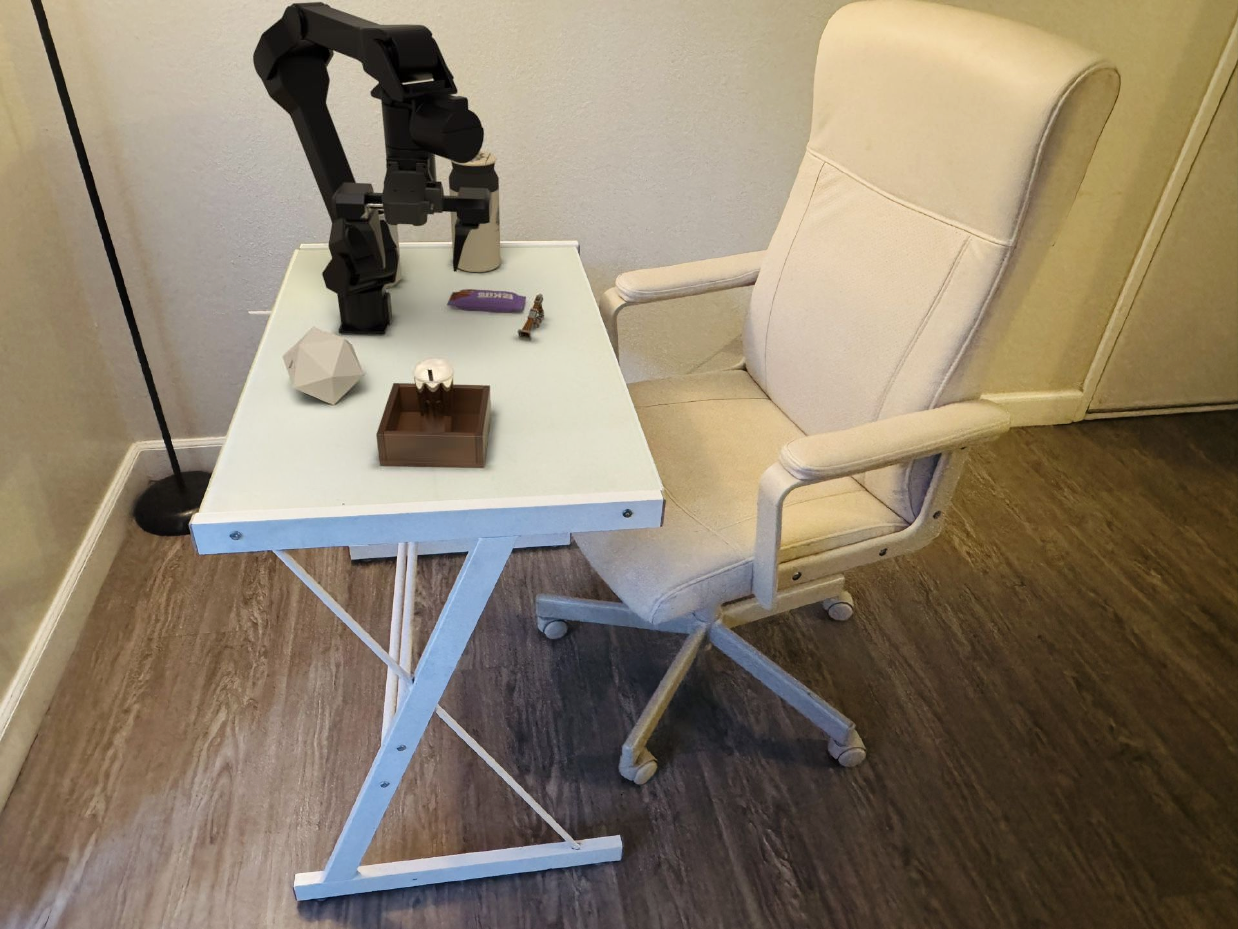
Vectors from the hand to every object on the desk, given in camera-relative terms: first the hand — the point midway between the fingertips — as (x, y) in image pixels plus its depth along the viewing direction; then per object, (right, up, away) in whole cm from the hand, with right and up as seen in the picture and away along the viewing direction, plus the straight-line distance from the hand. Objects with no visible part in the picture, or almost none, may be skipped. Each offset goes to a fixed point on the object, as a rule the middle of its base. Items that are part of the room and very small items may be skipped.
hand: (419, 269), depth 111 cm
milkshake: (+4, -22, -9) cm, 24 cm away
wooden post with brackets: (+13, -5, +17) cm, 22 cm away
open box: (+4, -22, -9) cm, 24 cm away
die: (-11, -16, -2) cm, 20 cm away
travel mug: (+1, +9, +37) cm, 38 cm away
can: (-13, +4, +28) cm, 31 cm away
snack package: (+5, -1, +23) cm, 23 cm away
